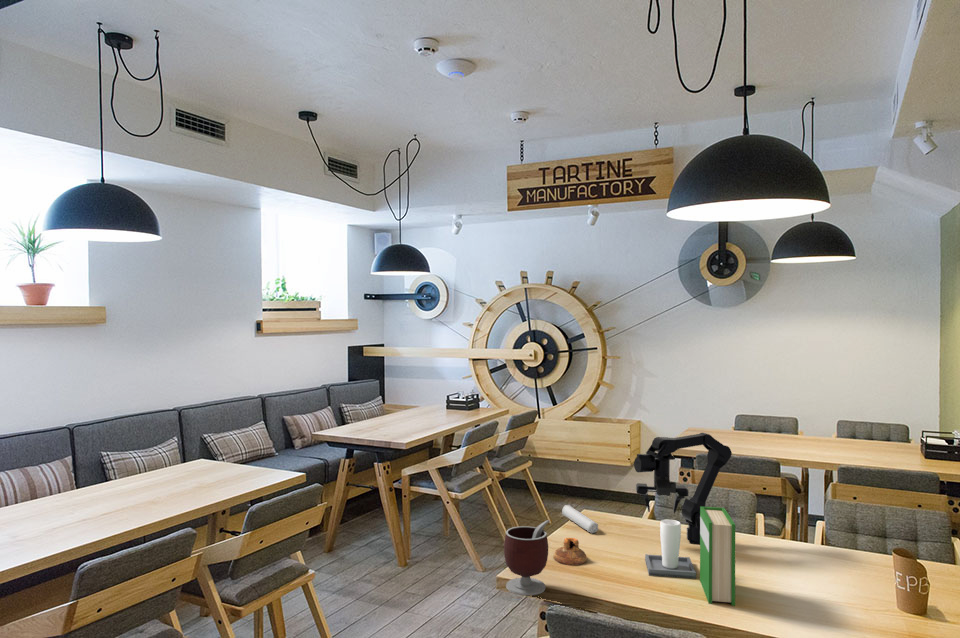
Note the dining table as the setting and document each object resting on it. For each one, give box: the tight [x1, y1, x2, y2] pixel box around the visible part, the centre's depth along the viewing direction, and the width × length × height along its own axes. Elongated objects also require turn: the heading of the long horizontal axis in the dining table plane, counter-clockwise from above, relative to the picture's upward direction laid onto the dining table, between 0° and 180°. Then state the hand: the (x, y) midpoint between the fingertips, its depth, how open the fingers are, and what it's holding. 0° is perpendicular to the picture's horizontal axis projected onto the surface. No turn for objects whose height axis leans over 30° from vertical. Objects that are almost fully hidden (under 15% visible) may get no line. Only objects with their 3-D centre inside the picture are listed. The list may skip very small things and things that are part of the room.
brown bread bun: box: [553, 537, 588, 566], centre depth 223 cm, size 12×12×7 cm
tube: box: [561, 504, 599, 534], centre depth 262 cm, size 5×5×25 cm
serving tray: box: [644, 553, 697, 580], centre depth 214 cm, size 15×14×2 cm
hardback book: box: [699, 506, 736, 607], centre depth 196 cm, size 18×7×24 cm, turn 169°
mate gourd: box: [503, 519, 550, 597], centre depth 199 cm, size 16×14×20 cm
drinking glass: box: [659, 519, 682, 569], centre depth 215 cm, size 7×7×15 cm
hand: (661, 512), depth 239 cm, fingers open, 9 cm apart
